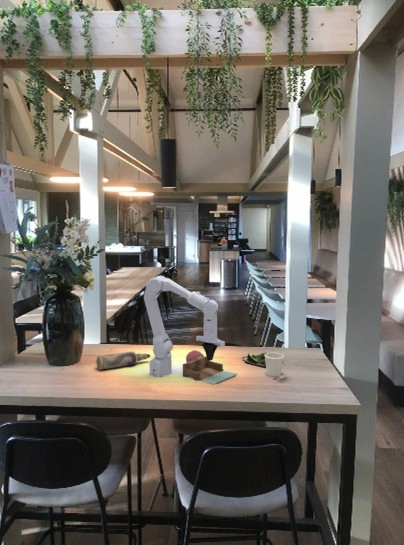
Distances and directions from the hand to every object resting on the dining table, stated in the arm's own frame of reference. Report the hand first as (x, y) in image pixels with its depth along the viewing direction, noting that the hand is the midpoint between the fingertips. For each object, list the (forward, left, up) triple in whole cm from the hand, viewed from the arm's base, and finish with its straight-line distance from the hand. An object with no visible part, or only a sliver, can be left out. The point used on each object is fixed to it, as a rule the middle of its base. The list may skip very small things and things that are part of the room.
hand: (210, 359), depth 187 cm
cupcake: (+9, +18, -7) cm, 21 cm away
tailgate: (+1, -1, -7) cm, 7 cm away
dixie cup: (+20, -19, -9) cm, 29 cm away
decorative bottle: (-13, +43, -9) cm, 46 cm away
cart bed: (+1, +5, -9) cm, 10 cm away
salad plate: (+35, -3, -9) cm, 36 cm away
